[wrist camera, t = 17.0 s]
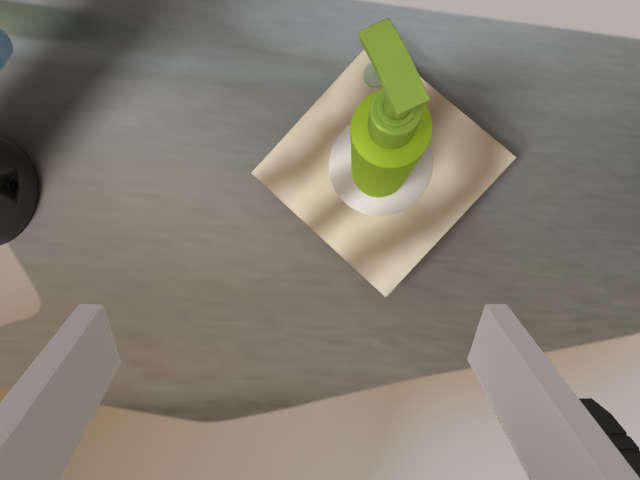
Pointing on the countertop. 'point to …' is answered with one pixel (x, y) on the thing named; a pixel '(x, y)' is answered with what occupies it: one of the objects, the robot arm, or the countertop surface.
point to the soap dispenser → (389, 116)
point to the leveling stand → (385, 212)
